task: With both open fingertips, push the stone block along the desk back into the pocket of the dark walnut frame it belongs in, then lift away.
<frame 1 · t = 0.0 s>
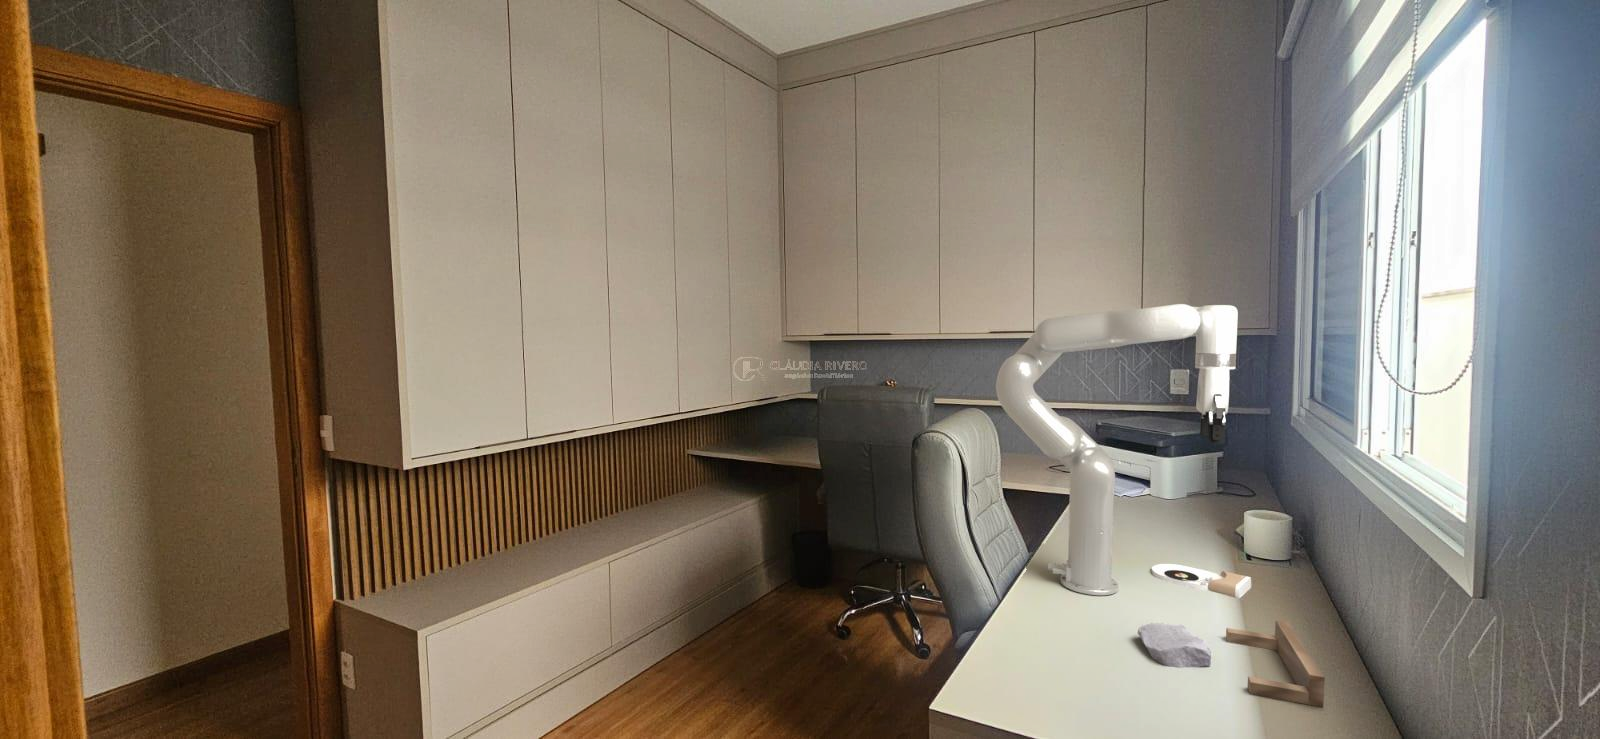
hand: (1212, 439, 147), 37 cm above the table, tool pointing down, fingers open, 9 cm apart
stone block: (1169, 654, 127), on the table
record player: (1197, 583, 162), on the table
walnut frame: (1256, 666, 121), on the table
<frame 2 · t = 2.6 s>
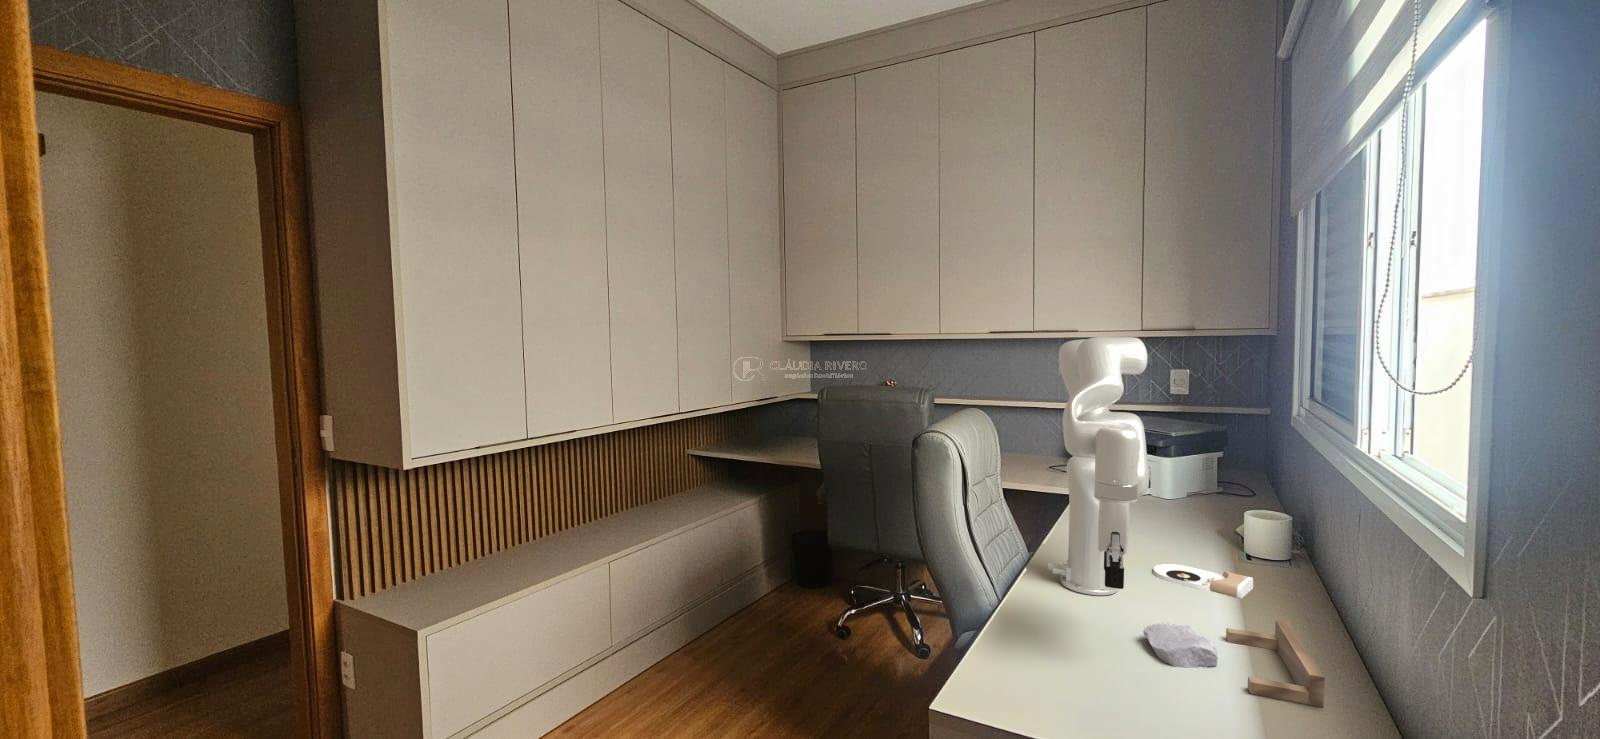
hand: (1113, 579, 129), 13 cm above the table, tool pointing down, fingers open, 9 cm apart
stone block: (1175, 654, 126), on the table
everything else where it was.
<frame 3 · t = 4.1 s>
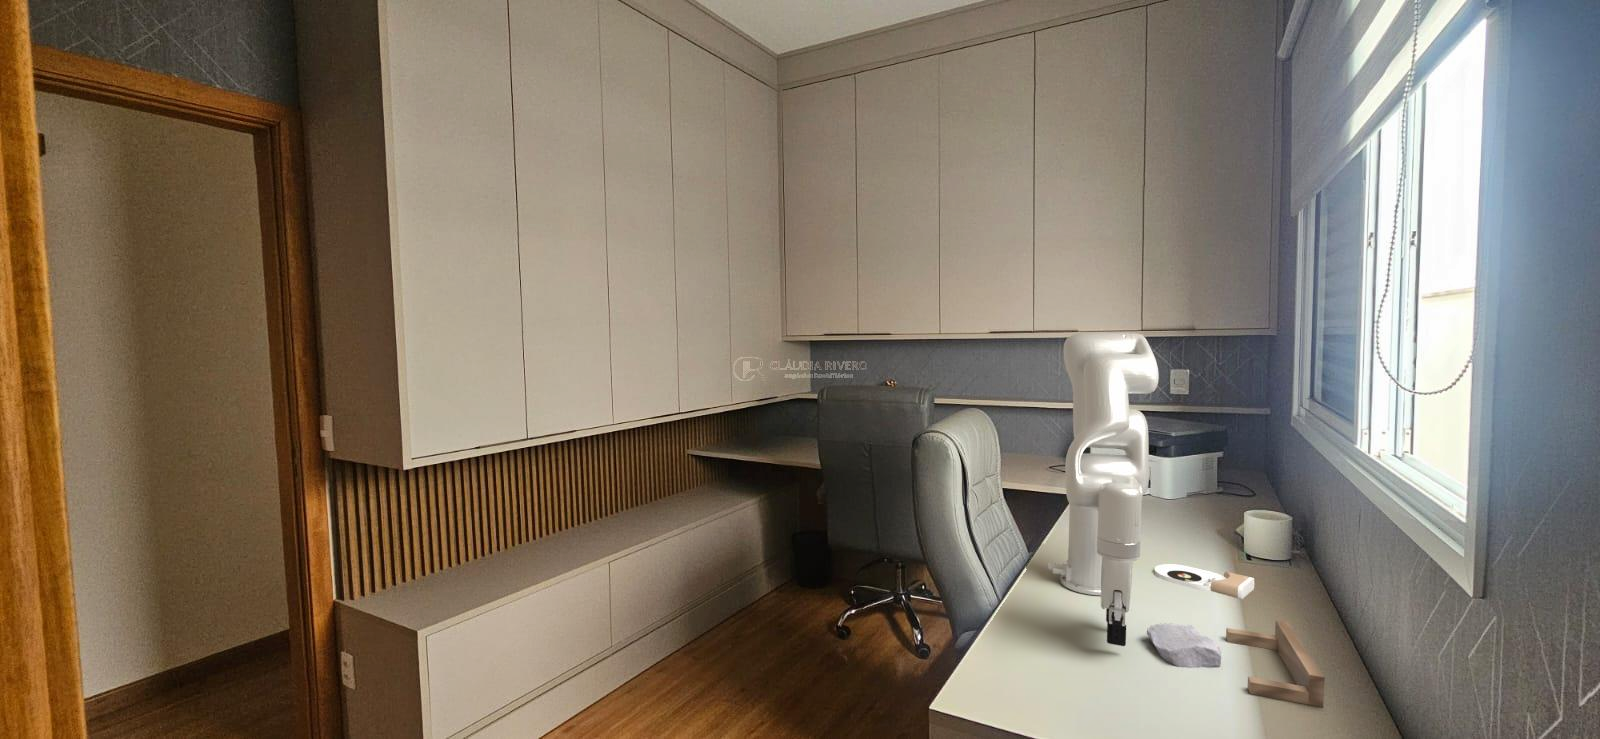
hand: (1115, 633, 130), 2 cm above the table, tool pointing down, fingers open, 9 cm apart
nothing on the table moved.
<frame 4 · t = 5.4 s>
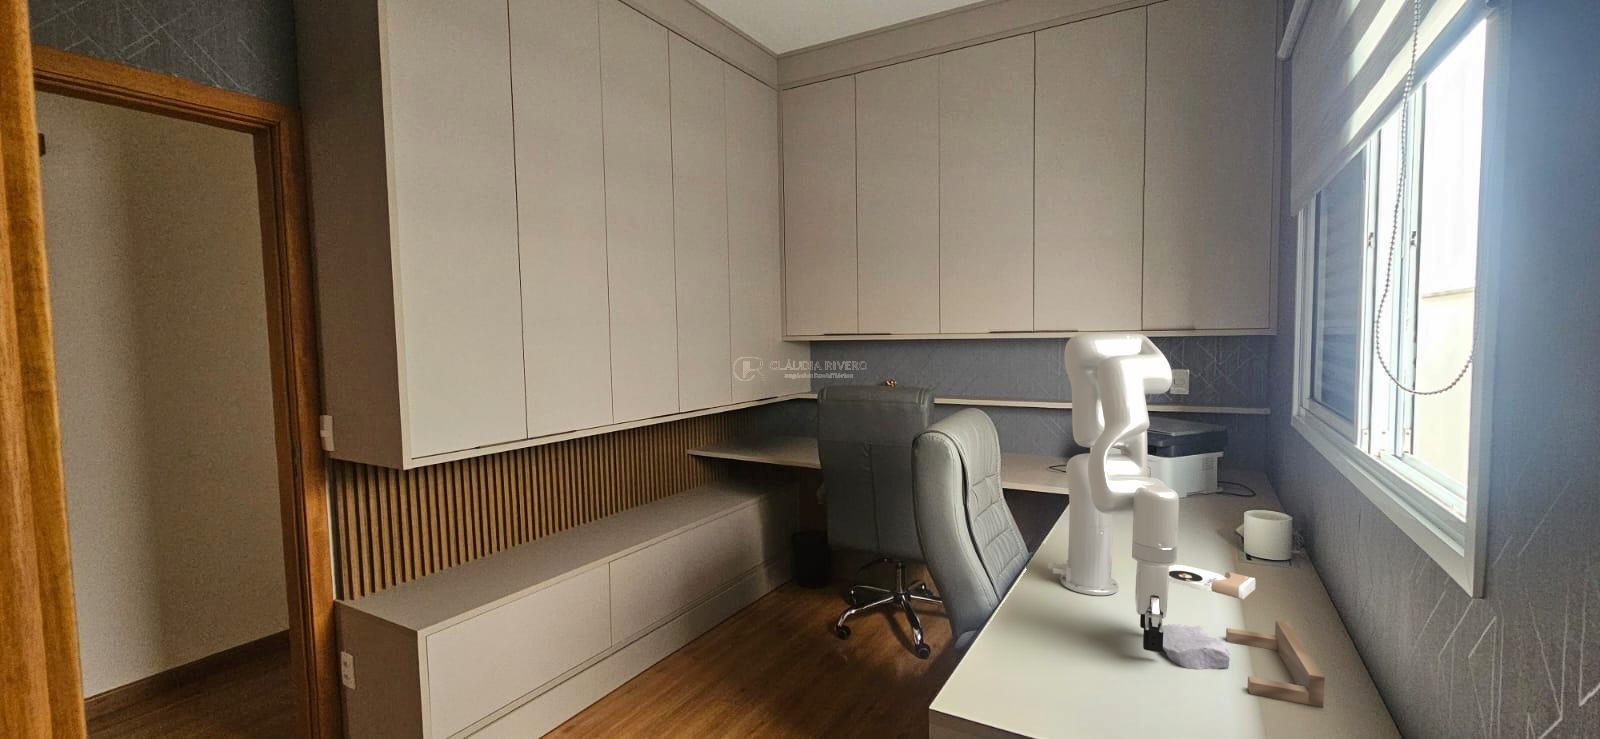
hand: (1150, 639, 128), 2 cm above the table, tool pointing down, fingers open, 9 cm apart
stone block: (1186, 655, 126), on the table
everything else where it was.
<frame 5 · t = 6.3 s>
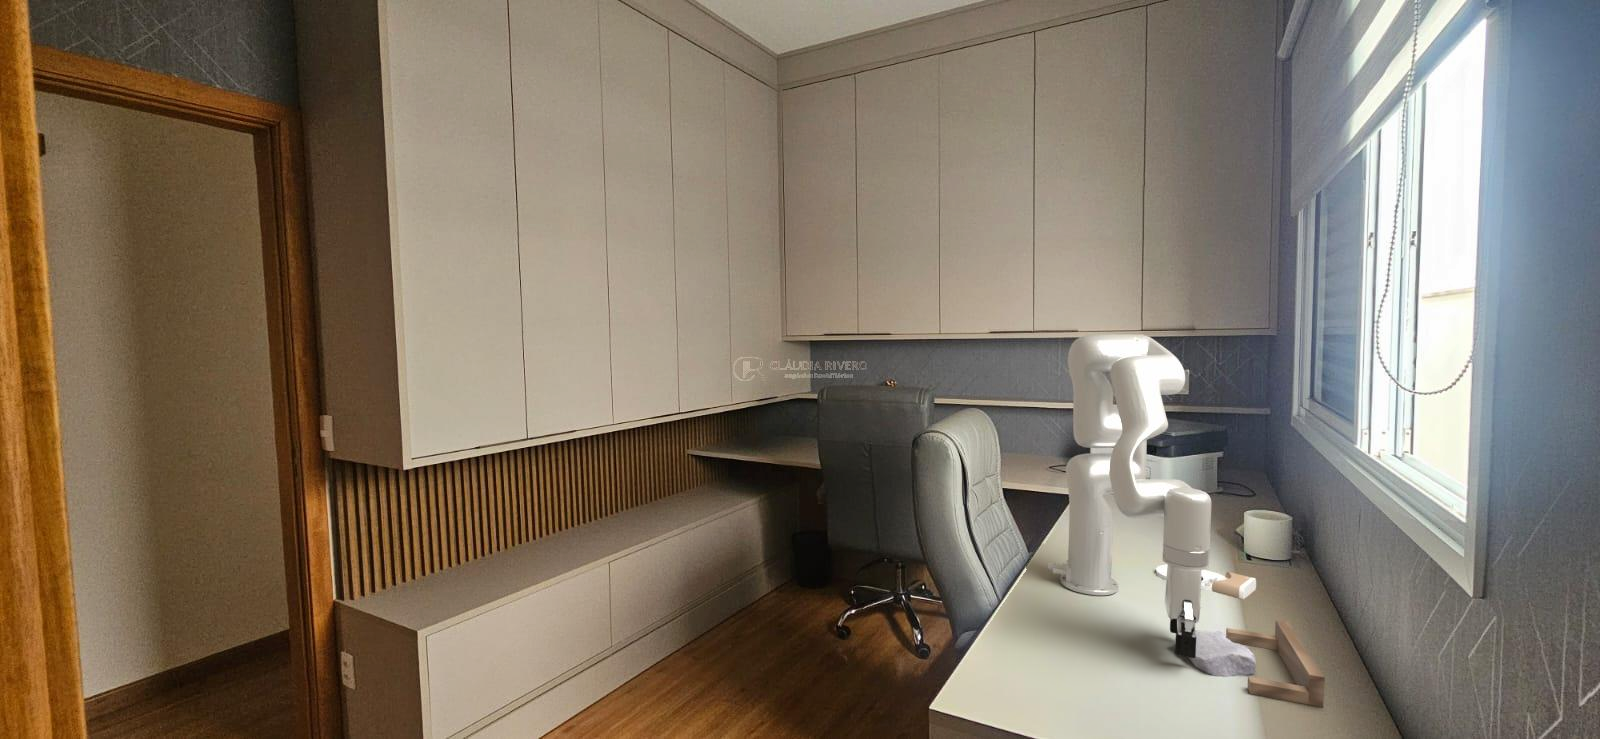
hand: (1182, 644, 126), 2 cm above the table, tool pointing down, fingers open, 9 cm apart
stone block: (1210, 662, 123), on the table, touching gripper
everything else where it was.
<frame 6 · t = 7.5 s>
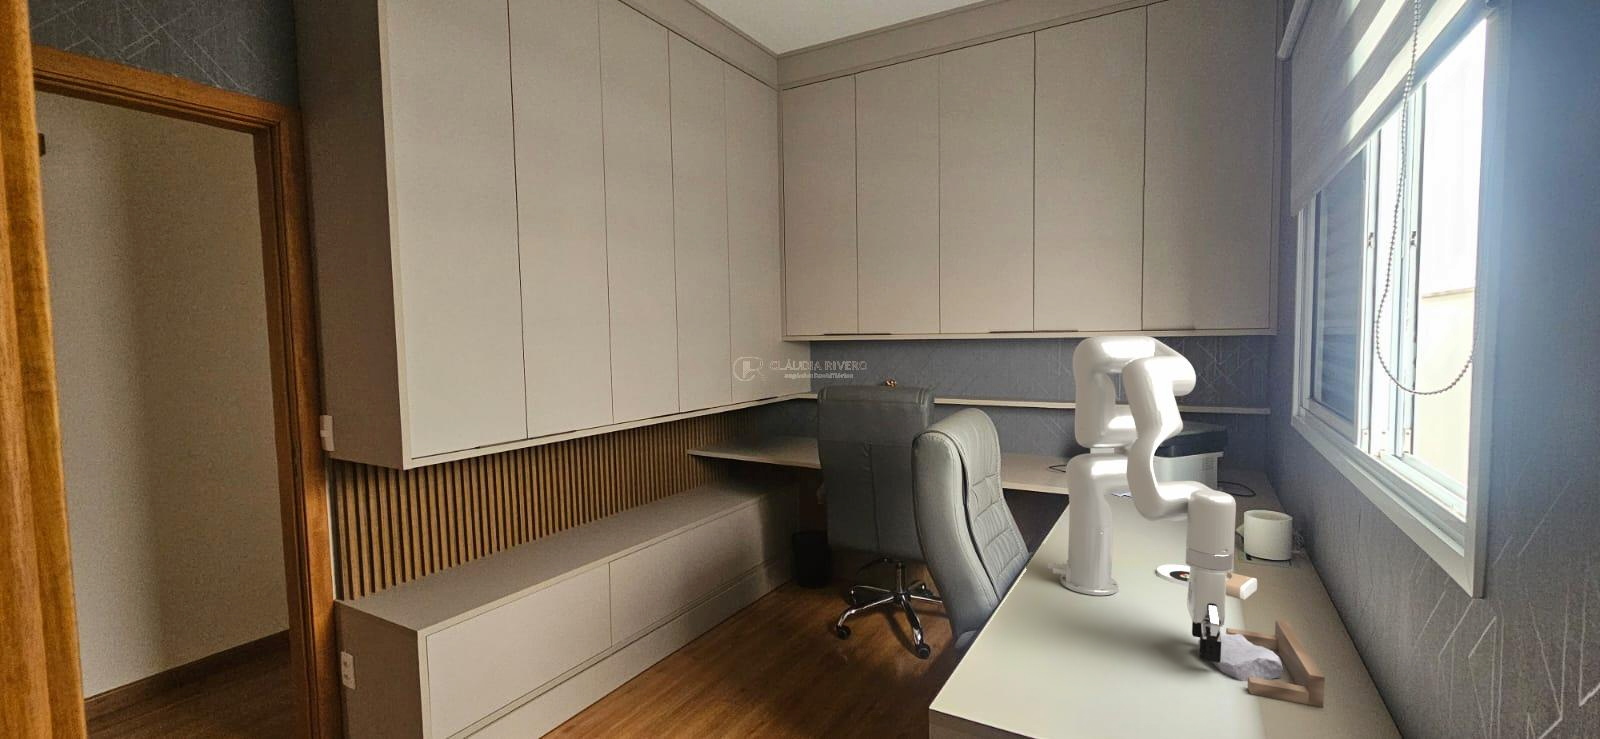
hand: (1205, 648, 124), 2 cm above the table, tool pointing down, fingers open, 9 cm apart
stone block: (1234, 666, 122), on the table
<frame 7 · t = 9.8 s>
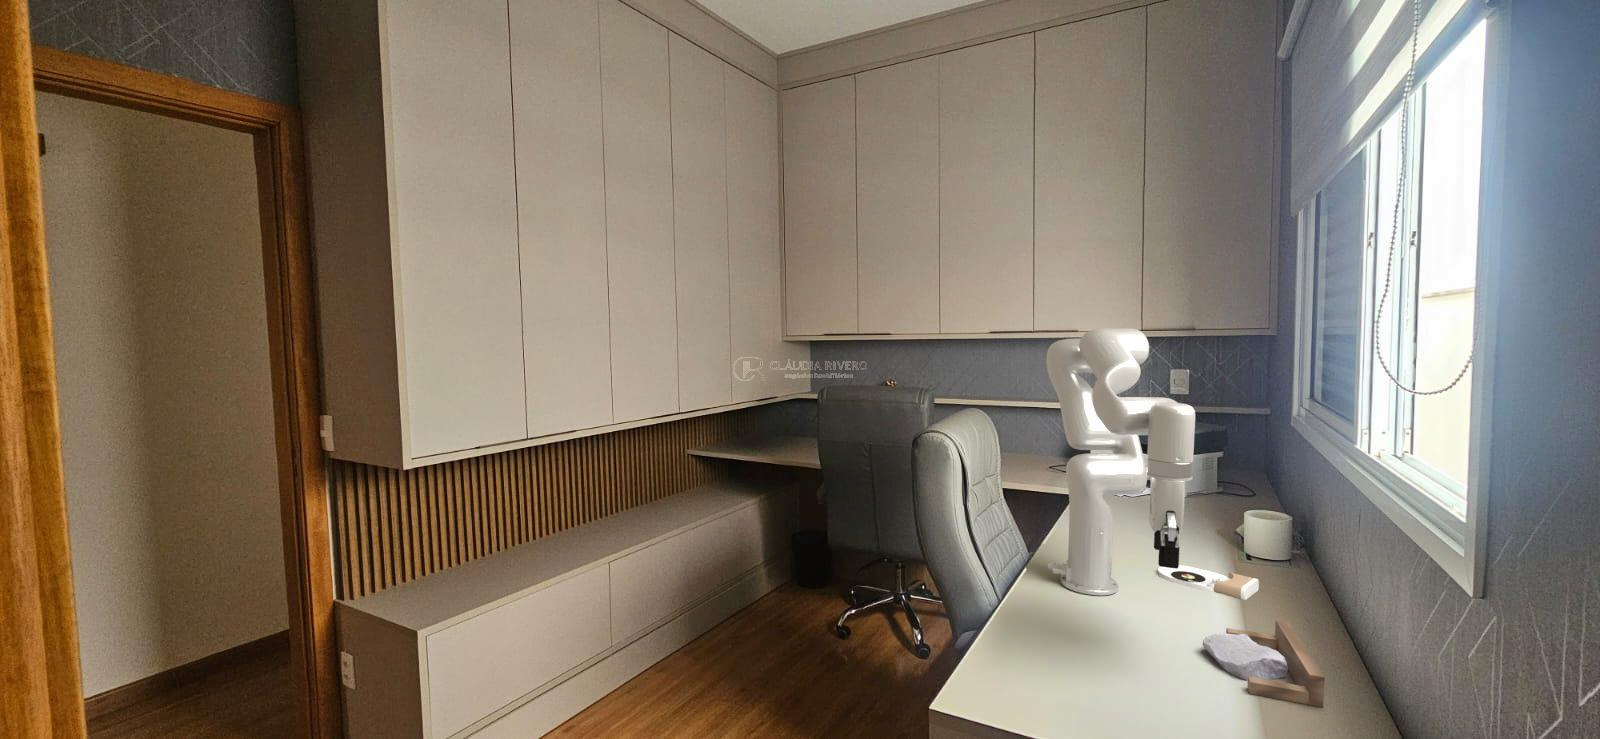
hand: (1165, 558, 126), 18 cm above the table, tool pointing down, fingers open, 9 cm apart
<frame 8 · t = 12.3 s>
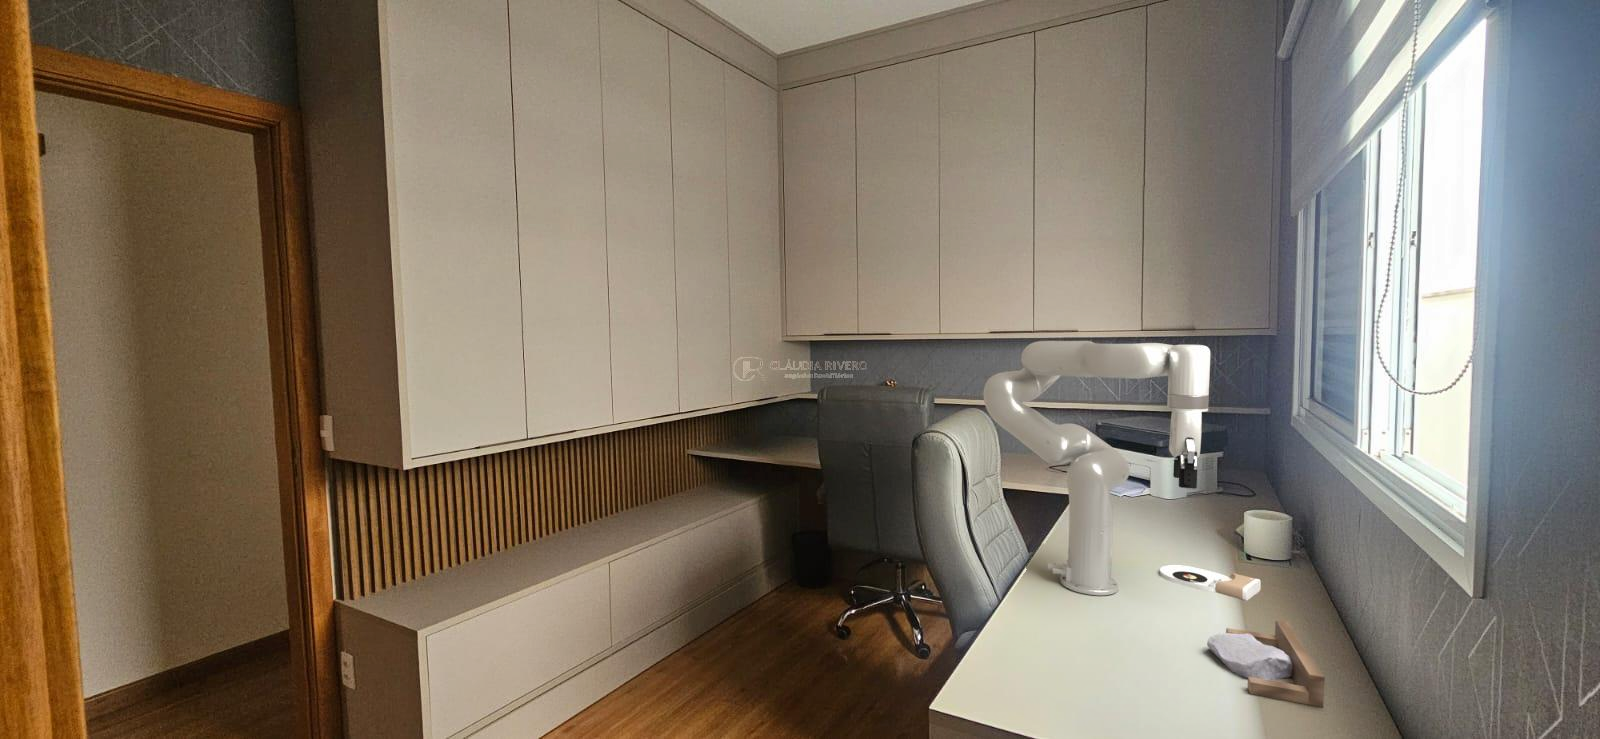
hand: (1184, 482, 142), 28 cm above the table, tool pointing down, fingers open, 9 cm apart
at the end: stone block 0.8 cm from the target spot on the walnut frame, point -0.6 cm above the walnut frame's base; stone block moved 12.3 cm from its start; stone block tilted 0° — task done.
